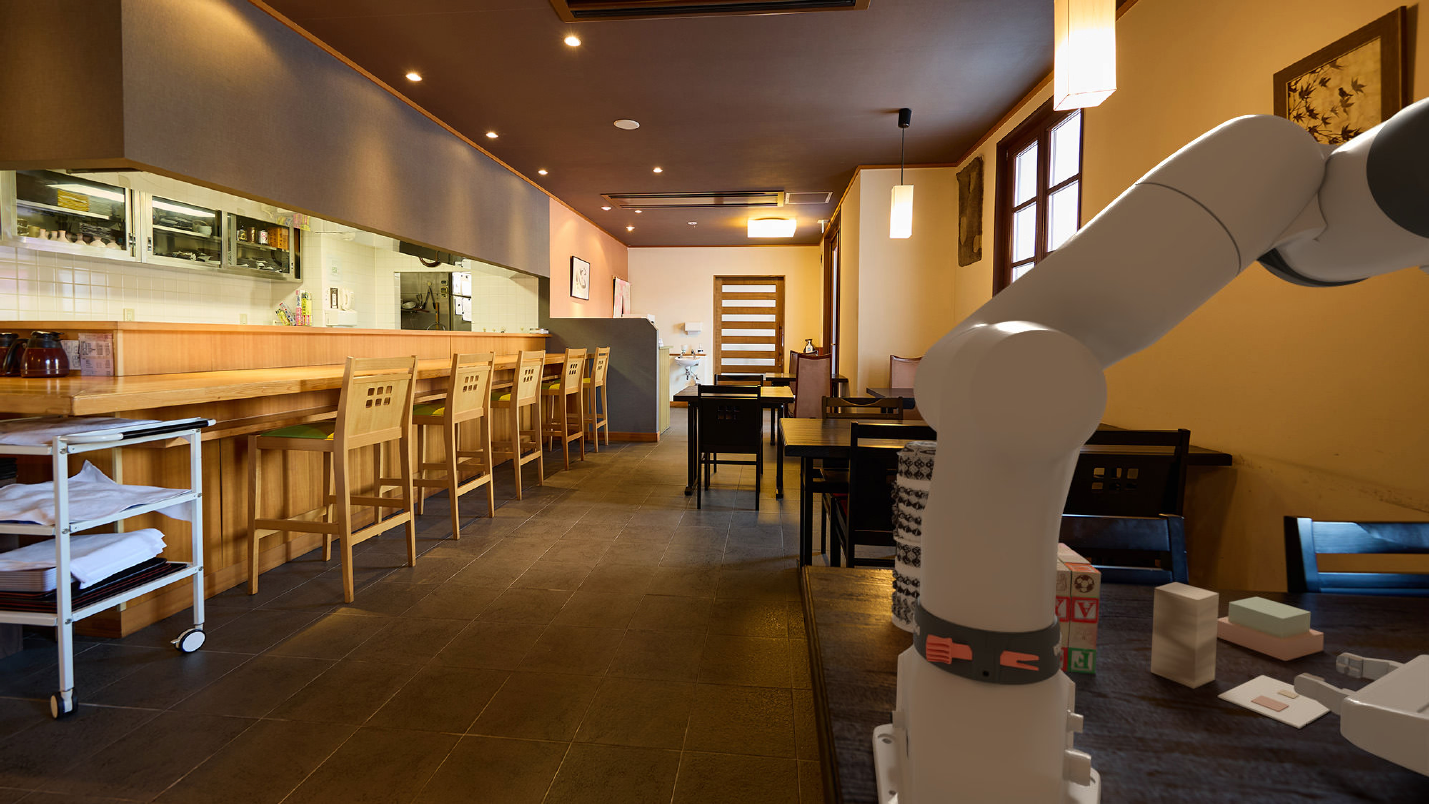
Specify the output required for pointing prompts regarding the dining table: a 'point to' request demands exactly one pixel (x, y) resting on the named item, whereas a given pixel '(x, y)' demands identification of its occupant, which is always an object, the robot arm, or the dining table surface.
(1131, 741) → the dining table surface
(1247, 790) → the dining table surface
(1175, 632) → the maple column
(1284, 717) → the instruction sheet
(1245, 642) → the tower base
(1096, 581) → the stack of blocks
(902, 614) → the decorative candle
